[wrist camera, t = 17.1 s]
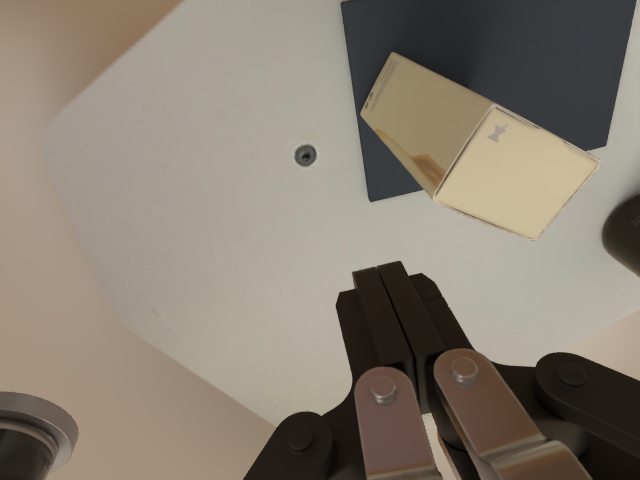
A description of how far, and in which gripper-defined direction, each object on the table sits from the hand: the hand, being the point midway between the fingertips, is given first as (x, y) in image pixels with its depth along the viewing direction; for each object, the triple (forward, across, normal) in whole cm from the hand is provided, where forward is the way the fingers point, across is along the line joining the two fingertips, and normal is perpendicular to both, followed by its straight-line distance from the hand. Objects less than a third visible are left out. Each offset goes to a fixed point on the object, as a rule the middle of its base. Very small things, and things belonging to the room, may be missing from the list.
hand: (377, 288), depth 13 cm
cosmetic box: (+17, -7, 0) cm, 18 cm away
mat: (+17, -12, 0) cm, 21 cm away
